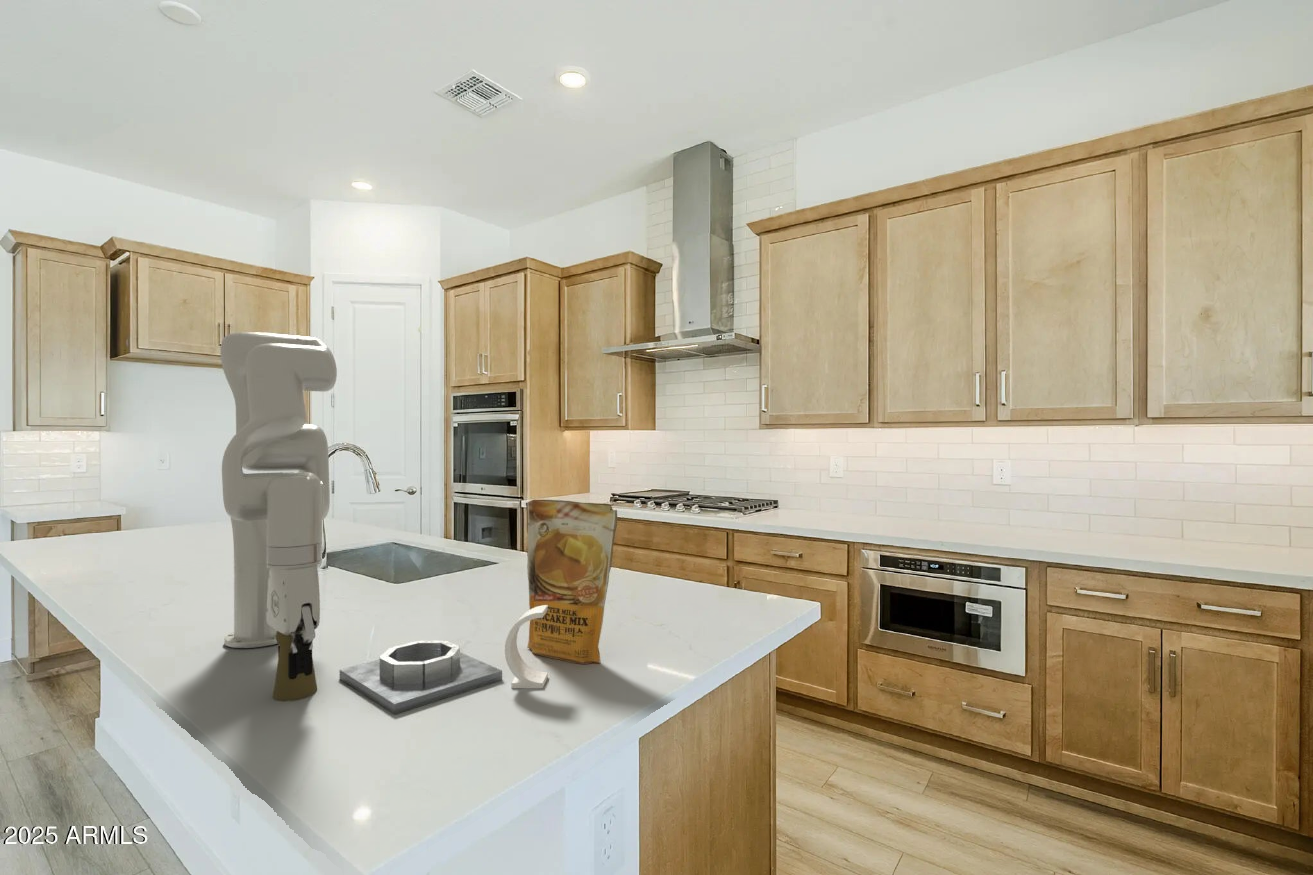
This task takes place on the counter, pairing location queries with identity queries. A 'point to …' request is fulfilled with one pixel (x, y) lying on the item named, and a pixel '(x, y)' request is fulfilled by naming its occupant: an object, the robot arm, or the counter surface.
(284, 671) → the cork
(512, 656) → the headphone stand
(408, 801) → the counter surface
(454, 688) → the plate
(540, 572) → the pancake mix bag
